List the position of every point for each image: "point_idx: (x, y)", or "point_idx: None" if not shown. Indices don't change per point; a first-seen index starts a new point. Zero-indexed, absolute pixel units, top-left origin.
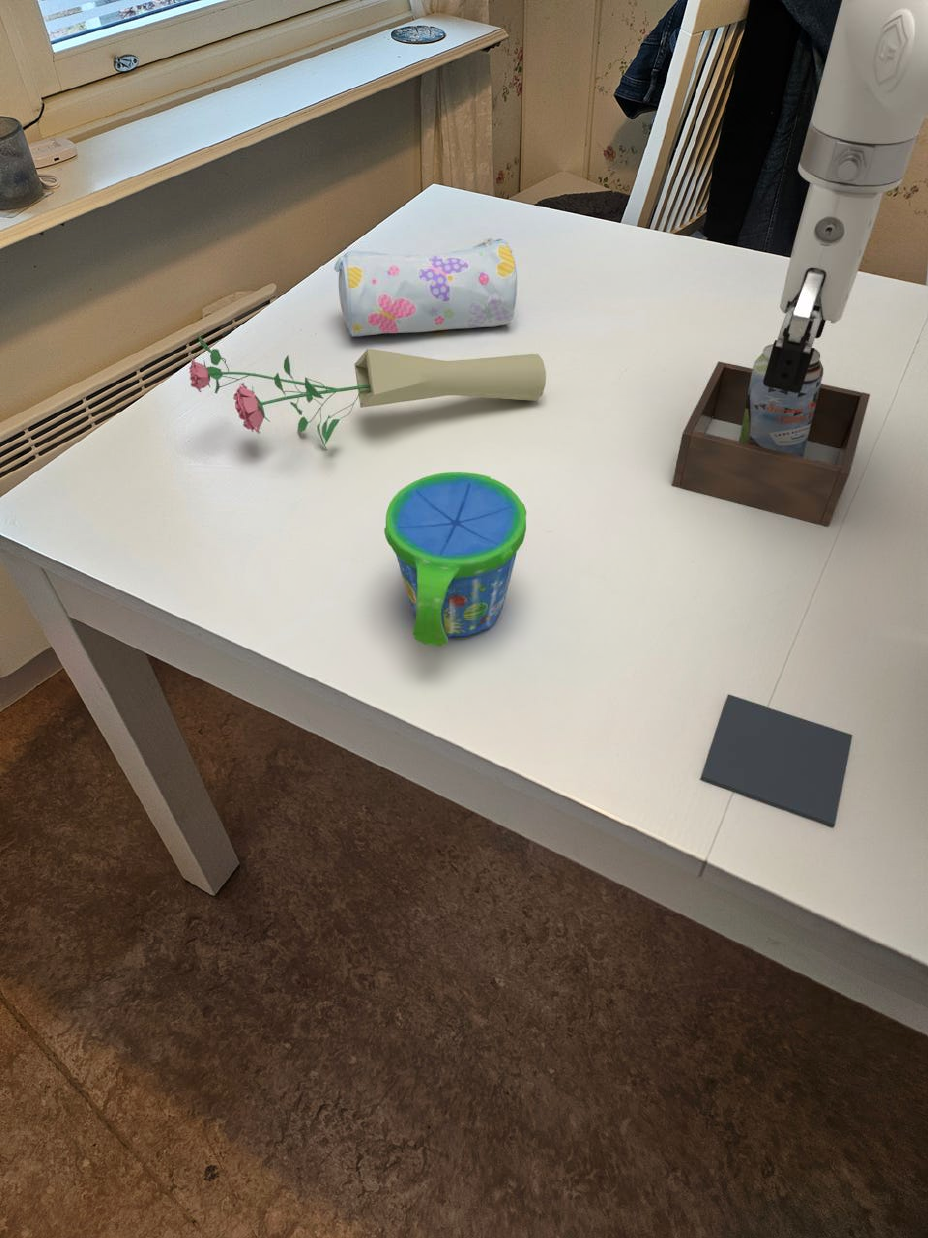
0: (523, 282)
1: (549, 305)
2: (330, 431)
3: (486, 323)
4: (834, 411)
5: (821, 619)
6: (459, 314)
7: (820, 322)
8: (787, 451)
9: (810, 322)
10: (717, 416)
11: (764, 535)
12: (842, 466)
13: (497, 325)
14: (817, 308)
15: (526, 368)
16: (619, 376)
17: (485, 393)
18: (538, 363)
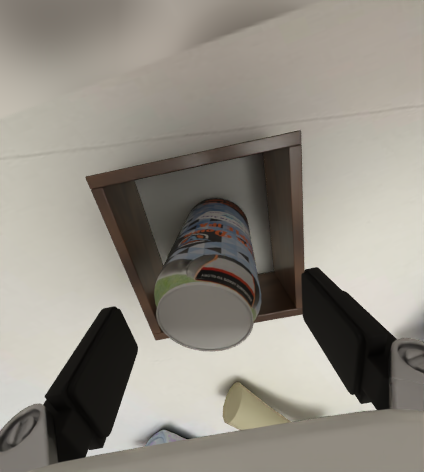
0: (106, 444)
1: (118, 424)
2: None
3: (180, 439)
4: (124, 205)
5: (412, 89)
6: None
7: (106, 336)
8: (241, 218)
9: (115, 345)
10: None
11: (310, 186)
12: (289, 145)
13: (173, 433)
14: (98, 375)
15: (250, 418)
16: (167, 360)
17: (276, 412)
18: (239, 417)
